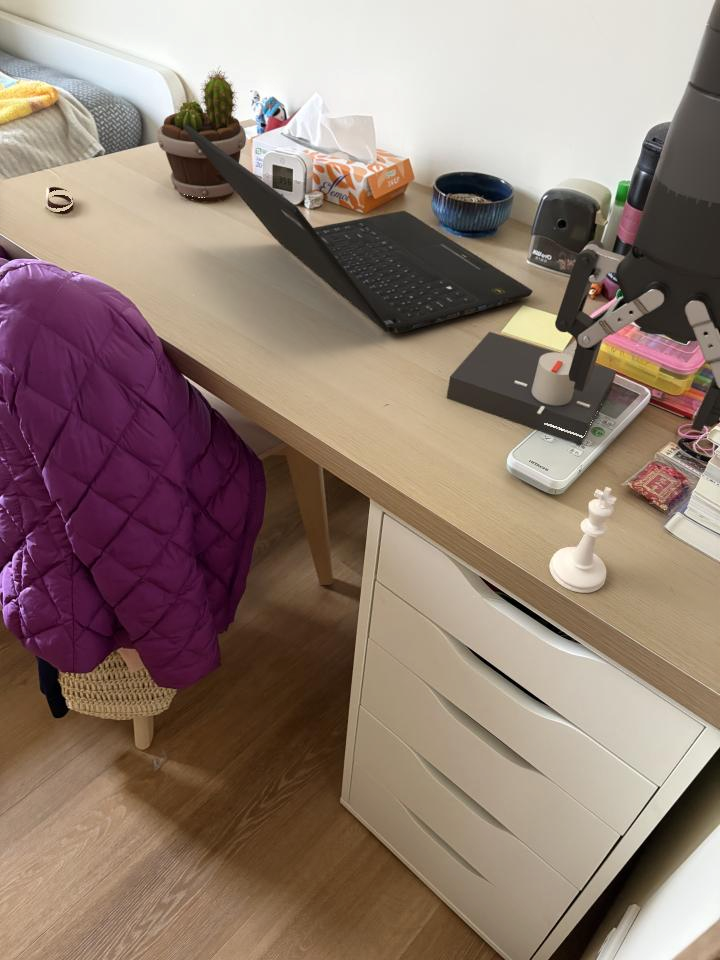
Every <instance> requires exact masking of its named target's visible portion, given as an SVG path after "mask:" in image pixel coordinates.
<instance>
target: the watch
mask: <svg viewBox="0 0 720 960" xmlns="http://www.w3.org/2000/svg"><path fill="white" fill-rule="evenodd" d="M54 190H55V191H56V190H65V191H68V190H66V189H65V188H62V187H59V186H58V187H57V186H47V187H46V188H45V200H46V201H45V202H44V203H47V204H48V206H49V207H51V208H56V209H57V208H63V207H66V206H68V205H70V204H71V203H72V202H71V199H70V198H69V197H68V196H65V195H54V196H52V197H51V198H61V199H62V200H65V201H67V202H68V203H67V204H58V203H54V202H52V201H51V200H50V198H49V193H50V192H52V191H54ZM70 202H71V203H70ZM44 209H46V210H49V209H48V208H47V207H45V206H44ZM72 211H74V204H73V205H72V206H71V207H70V208H69V209H67V210H65V211H60V212H53V211H50V212H51V213H53V214H56V215H68V214H70V213H72Z"/></svg>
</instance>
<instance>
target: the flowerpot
mask: <svg viewBox="0 0 720 960" xmlns="http://www.w3.org/2000/svg"><path fill="white" fill-rule="evenodd" d="M220 67H221V65H219V66H218V68H217V71H215V70H214V69H212V70H209V72H211V73H212V74H211V75H210V74H208V75H206V76H207V77H206V78H205V79H206V80H205V79H204V80H203V82H204V83H203V84H200V87H201V88H200V89H199V91H203V93H200V94H199V95H200V96H199V99H200V101H198V102H197V101H193V100H194V97H192V98H191V99H187V100H185V101H184V100H183V101H181V103H182V105H181V104H179V106H175V108H176V109H177V110H178V112H174V113H173V114H170V115H168V116H167V117H165V119H164V120H163V124H162V125H161V126H160V127H159V128H158V129H157V132H156V135H157V142H158V146H159V148H160V149H161V150H162V151H164V152H165V155H166V159H167V161H168V165H169V167H170V169H171V174H170V180H171V183H172V186H173V188H174V190H175V191H177V192H178V194H179V195H180V196H183V197H184V199H185V200H187V201H193V202H196V203H216V202H220V201H222V202H223V201H225V200H227V199H228V200H229V199H230V198H231V197H233V196H234V195H235V193H236V192H235V191H234V189H233V188H232V187H231V186H230V185H229V184H228V182H227V181H226V180H225V179H224V178H223V176H222V175H221V174H220V173H219V172H218V170H217V169H216V168H215V167H214V166H213V164H212V163H211V162H210V161H209V159H208V158H207V157H206V156H205V155H204V153H203V152H202V151H201V150H200V149H199V147H198V146H197V145H196V144H195V142H194V141H193V140H192V139H191V138H190V136H189V135H188V133H187V131H186V130H185V129H184V124H187V125H189V126H190V127H191V128H193V129H194V130H196V131H197V132H198V133H199V134H201V135H202V136H204V137H205V138H206V139H208V140H209V141H210V142H212V143H213V144H214V145H216V146H217V147H218V148H220V149H221V150H222V151H224V152H225V153H226V154H227V155H229V156H230V157H232V158H233V159H234V160H235V161H237V162H238V163H239V164H240V160H241V152H242V150H243V149H244V147H245V146H246V143H247V136H246V135H247V134H246V131H245V128H244V126H242V125H241V124H240V121H239V119H238V118H236V117H235V115H236V111H237V110H238V109H237V108H236V107H237V100H236V99H239V98H238V97H237V96H236V94H238V92H236V91H234V89H233V85H234V82H230V80H229V81H228V80H227V79H230V78H229V76H225V74H226V72H225V71H223V72H222V70H219V69H220ZM184 98H185V99H186V97H184V96H183V99H184ZM199 102H200V103H199ZM202 104H203V105H202ZM201 105H202V106H201ZM204 106H205V107H204ZM233 113H234V114H233ZM184 194H185V195H184ZM187 195H188V196H187ZM192 196H193V197H192ZM198 197H200V198H198ZM201 197H203V198H201ZM204 197H205V198H204Z"/></svg>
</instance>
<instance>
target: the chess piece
mask: <svg viewBox="0 0 720 960" xmlns="http://www.w3.org/2000/svg"><path fill="white" fill-rule="evenodd" d="M611 491H612V488H611V487H608V486H606V487H605V488H604V490H603V491H602V490H600V489H599V488H598V489H595V491H594V494H593V497H595V498H594V499H591V500H590V501H589V503H588V505H587V507H588V508H587V509H588V517H586V518H584V519H583V520H582V521H581V522H580V529H581V531H582V532H583V533H584V534H583V536H582V538H581V540H580V541H579V543H578V545H577V546H565V547H561V548H560V549H558V550H557V551H555V552H554V554H553V556H552V557H551V559H550V561H549V572H550V575H551V576H552V578H553V579H554V580H555V582H556V583H557V584H559V585H560V586H561V587H563V588H565V589H566V590H569V591H572V592H575V593H580V594H581V593H582V594H588V593H594V592H596V591H598V590H600V589H601V588H602V587H603V586H604V584H605V583H606V578H607V568H606V565H605V563H604V561H603V560H602V559H601V558H600V557H599V556H598V555H597V554H596V553H594V552H595V547H596V542H597V539H598V538H602V537H604V536H605V535H606V534H607V530H608V529H607V526H606V524H605V523H606V521H607V520H608V519H609V518H610V517H611V516H612V515H613V514H614V511H615V509H614V506H613V505H615V503H616V502H617V497H615V496H614V495H611Z"/></svg>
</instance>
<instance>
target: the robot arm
mask: <svg viewBox="0 0 720 960" xmlns="http://www.w3.org/2000/svg"><path fill="white" fill-rule="evenodd" d="M656 165H657V166H656V168H655V171H654V175H653V178H652V181H651V184H650V188H649V190H648V194H647V197H646V200H645V203H644V206H643V210H642V214H641V216H640V219H639V223H638V226H637V230H636V233H635V236H634V239H633V242H632V244H631V247H630V250H629V251H628V252H627V253H626V254H625V255H622V254H619V253H616V252H613V251H609V250H607V249H605V246H604V244H603V243H602V242H601V240H598V239H593V240H591V241H589V242H588V243H587V244H586V245H585V246H584V247H583V249H581V251H580V252H579V253H578V255H576V258H575V261H574V264H573V266H572V269H571V273H570V276H569V279H568V282H567V286H566V289H565V291H564V294H563V297H562V300H561V304H560V307H559V310H558V313H557V316H556V319H555V322H554V325H555V328H556V330H558V332H561V333H568V334H570V335H571V336H572V337H573V338H574V339H575V342H576V345H575V350H574V353H573V356H572V357H573V360H572V364H571V367H570V371H569V380H570V381H573V382H575V385H574V390H577V391H580V392H583V391H584V390H585V388H586V386H587V385H588V383H589V381H590V378H591V376H592V372H593V369H594V366H595V364H596V362H597V359H598V356H599V353H600V350H601V346H602V343H603V340H604V339H606V338H608V336H610V335H611V336H612V335H613V336H614V335H615V334H616V333H618V332H620V331H621V330H623V329H625V328H627V326H629V325H631V324H632V323H634V324H635V325H636V326H637V327H638V328H639V332H643V333H646V334H649V335H663V336H665V337H667V338H669V339H670V340H672V341H674V342H677V343H681V344H683V345H687V344H688V342H697V343H698V347H699V349H700V351H701V354H702V357H703V359H704V361H705V363H707V364H708V365H709V367H710V370H711V373H712V375H713V376H712V379H711V381H710V383H709V385H708V387H707V390H706V392H705V394H704V396H703V398H702V401H701V403H700V405H699V407H698V410H697V413H696V414H695V416H694V417H695V418H694V420H693V423H692V425H691V428H690V429H692V430H694V431H697V432H702V431H703V430H704V427H705V426H707V427H710V428H712V427H714V426H715V425H717V424H718V423H719V420H720V0H714V2H713V4H712V6H711V11H710V14H709V16H708V19H707V22H706V25H705V28H704V31H703V34H702V37H701V40H700V43H699V47H698V49H697V54H696V56H695V59H694V63H693V65H692V68H691V71H690V75H689V81H687V84H686V87H685V89H684V93H683V95H682V97H681V99H680V102H679V104H678V106H677V107H676V110H675V112H674V115H673V117H672V119H671V122H670V124H669V127H668V131H667V134H666V136H665V140H664V143H663V147H662V149H661V152H660V156H659V158H658V162H657V164H656ZM608 274H614V275H615V279H616V282H617V285H618V287H619V290H620V292H621V295H622V296H620V297H619V298H617V299H616V300H615V301H613V302H612V303H611V304H610V305H609V306H608V307H607V308H605V309H603V310H602V311H601V312H599V313H598V314H596V315H595V316H593V317H591V316H590V315H588V314H587V313H586V312H584V308H585V305H586V302H587V300H588V297H589V294H590V291H591V288H592V285H596V284H600V283H601V282H602V281H603V280H604V278H605V277H606V276H607V275H608Z"/></svg>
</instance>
